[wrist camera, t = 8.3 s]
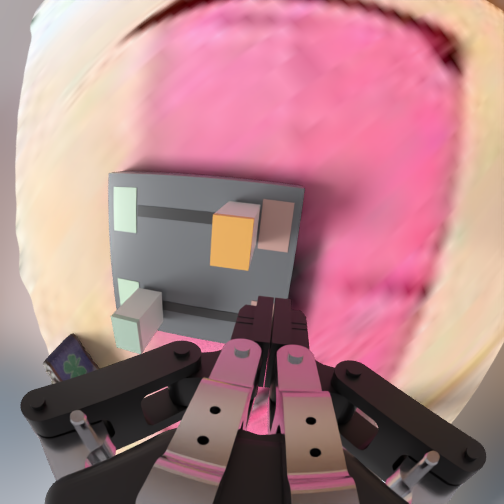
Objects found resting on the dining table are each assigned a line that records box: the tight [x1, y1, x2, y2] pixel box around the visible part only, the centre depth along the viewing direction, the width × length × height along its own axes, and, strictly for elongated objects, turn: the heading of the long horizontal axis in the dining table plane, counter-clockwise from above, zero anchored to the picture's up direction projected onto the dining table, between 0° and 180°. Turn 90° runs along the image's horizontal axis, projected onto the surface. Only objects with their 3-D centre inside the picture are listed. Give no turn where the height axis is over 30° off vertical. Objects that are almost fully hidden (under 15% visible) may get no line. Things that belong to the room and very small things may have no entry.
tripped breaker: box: [210, 201, 260, 271], centre depth 24 cm, size 3×4×7 cm
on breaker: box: [111, 288, 163, 354], centre depth 28 cm, size 3×4×7 cm
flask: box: [43, 334, 99, 384], centre depth 36 cm, size 9×3×11 cm, turn 22°
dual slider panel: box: [108, 171, 305, 344], centre depth 31 cm, size 21×19×3 cm
